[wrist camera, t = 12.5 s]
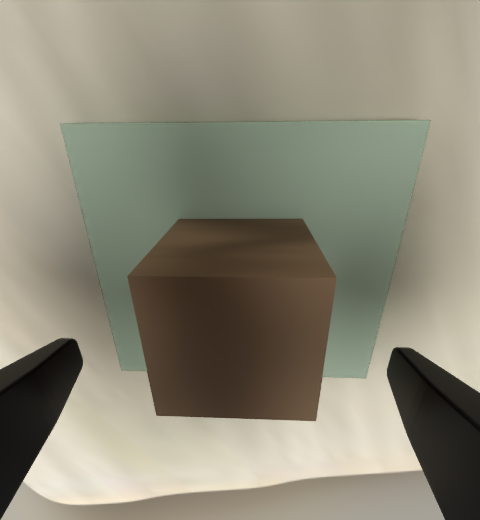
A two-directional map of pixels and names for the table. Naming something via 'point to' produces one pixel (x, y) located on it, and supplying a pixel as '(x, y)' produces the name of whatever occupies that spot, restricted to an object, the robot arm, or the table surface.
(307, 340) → the walnut block
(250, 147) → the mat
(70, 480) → the table surface
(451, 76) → the table surface
